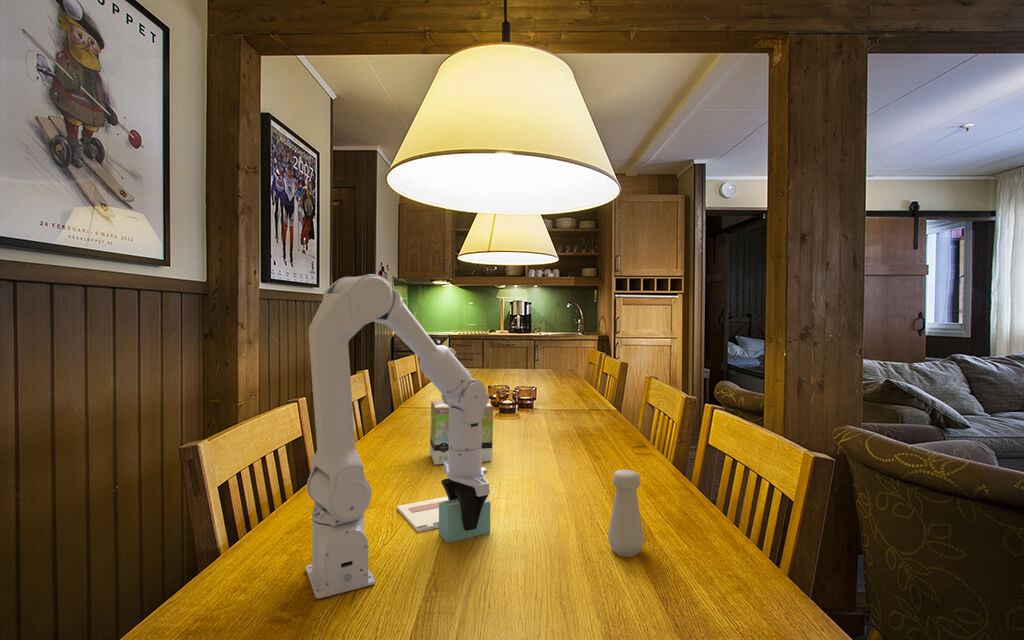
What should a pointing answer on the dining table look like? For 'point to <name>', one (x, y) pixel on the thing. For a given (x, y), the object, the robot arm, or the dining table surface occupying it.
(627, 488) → the salt shaker
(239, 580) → the dining table surface
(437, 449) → the tea box
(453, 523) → the teal rectangular block
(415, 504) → the white card
